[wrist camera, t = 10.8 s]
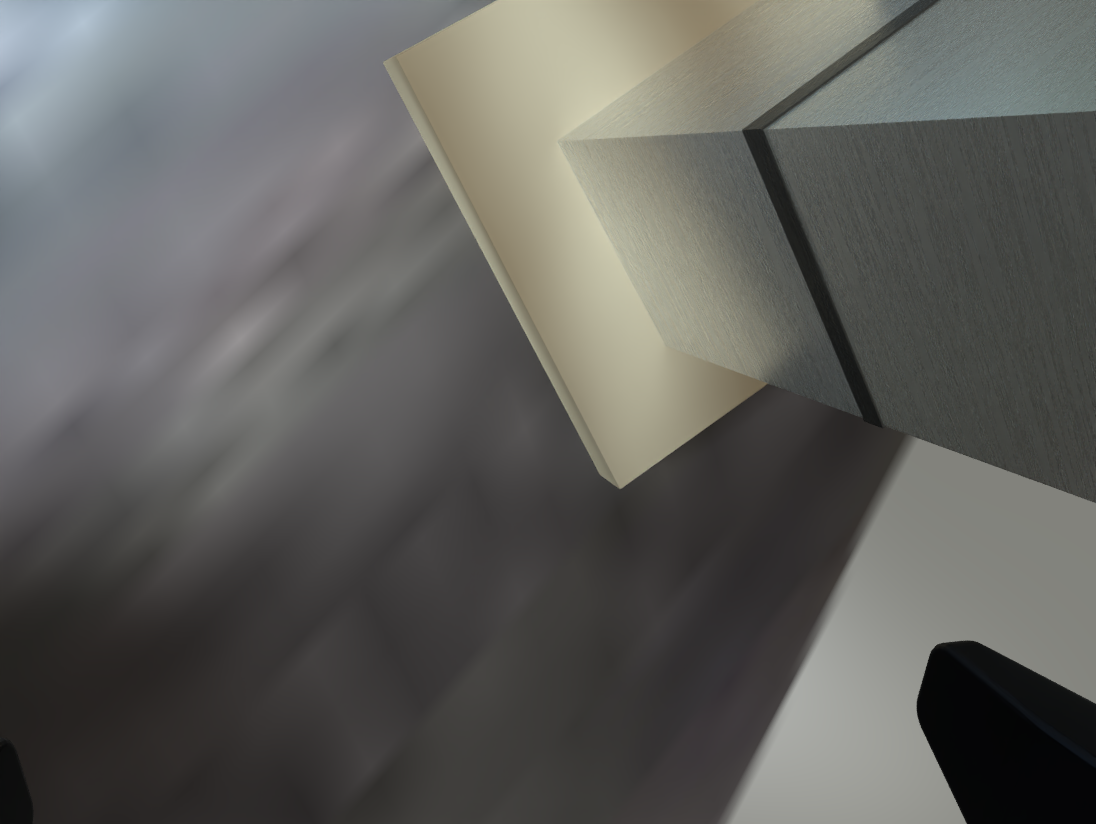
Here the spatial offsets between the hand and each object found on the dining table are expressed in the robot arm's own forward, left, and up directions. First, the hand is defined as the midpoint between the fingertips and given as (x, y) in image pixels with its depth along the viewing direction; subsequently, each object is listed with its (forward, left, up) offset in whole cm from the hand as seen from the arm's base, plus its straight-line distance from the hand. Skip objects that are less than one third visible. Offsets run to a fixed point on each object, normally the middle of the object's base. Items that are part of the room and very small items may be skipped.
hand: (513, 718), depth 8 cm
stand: (+9, +2, -12) cm, 15 cm away
